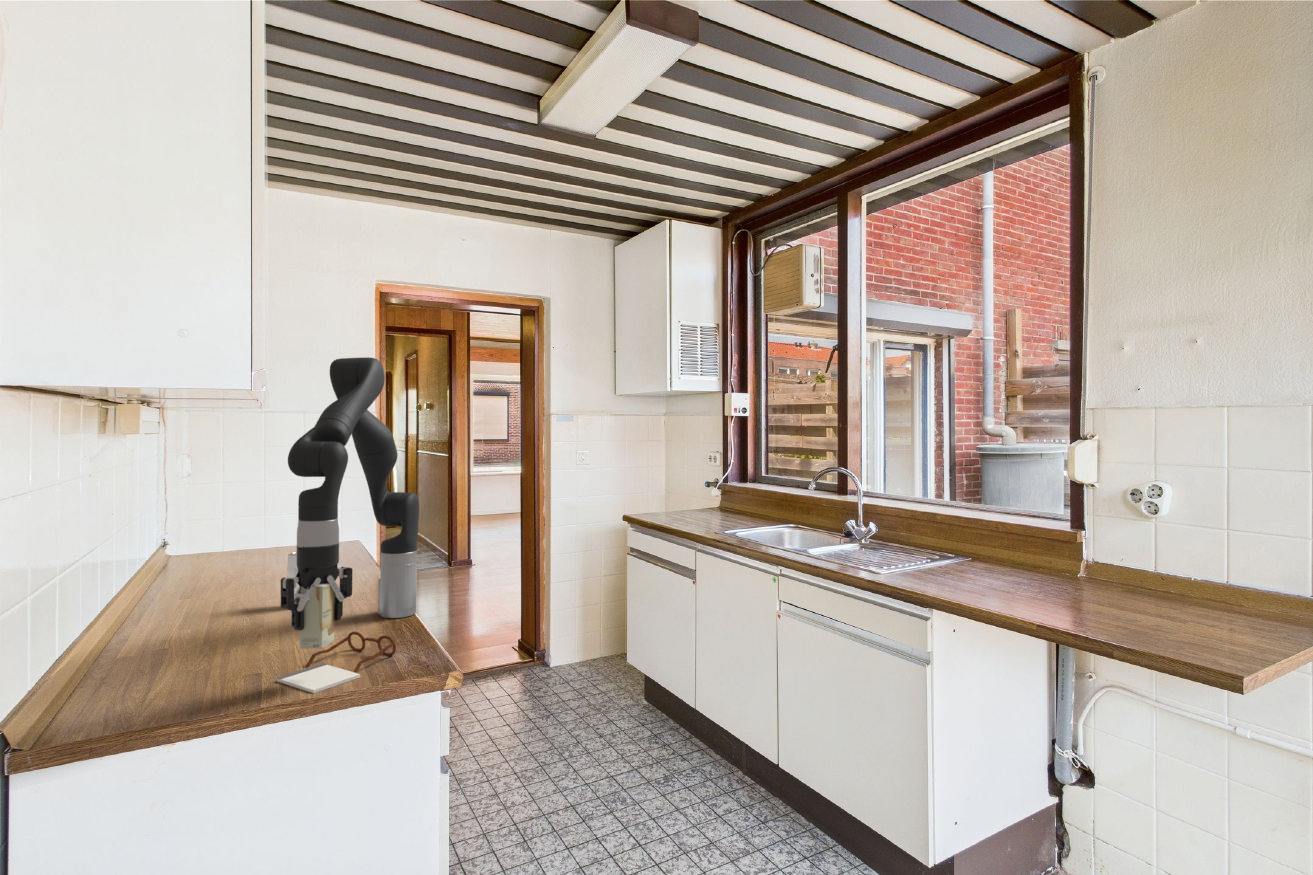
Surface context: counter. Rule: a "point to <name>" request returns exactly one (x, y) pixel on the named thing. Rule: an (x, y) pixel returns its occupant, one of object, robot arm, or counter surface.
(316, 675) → the board
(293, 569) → the beer glass
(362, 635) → the glasses
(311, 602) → the skincare box
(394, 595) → the robot arm
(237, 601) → the counter surface
